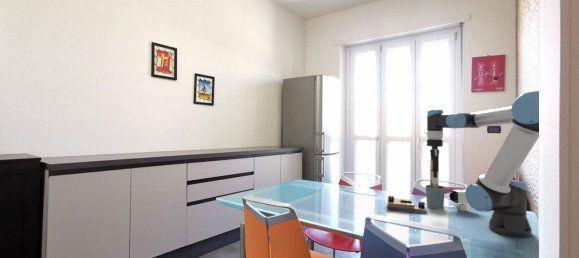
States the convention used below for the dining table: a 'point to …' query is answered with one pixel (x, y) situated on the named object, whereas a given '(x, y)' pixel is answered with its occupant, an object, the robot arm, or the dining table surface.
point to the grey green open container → (435, 197)
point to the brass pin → (431, 177)
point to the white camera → (459, 199)
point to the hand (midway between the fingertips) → (434, 182)
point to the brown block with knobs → (405, 205)
